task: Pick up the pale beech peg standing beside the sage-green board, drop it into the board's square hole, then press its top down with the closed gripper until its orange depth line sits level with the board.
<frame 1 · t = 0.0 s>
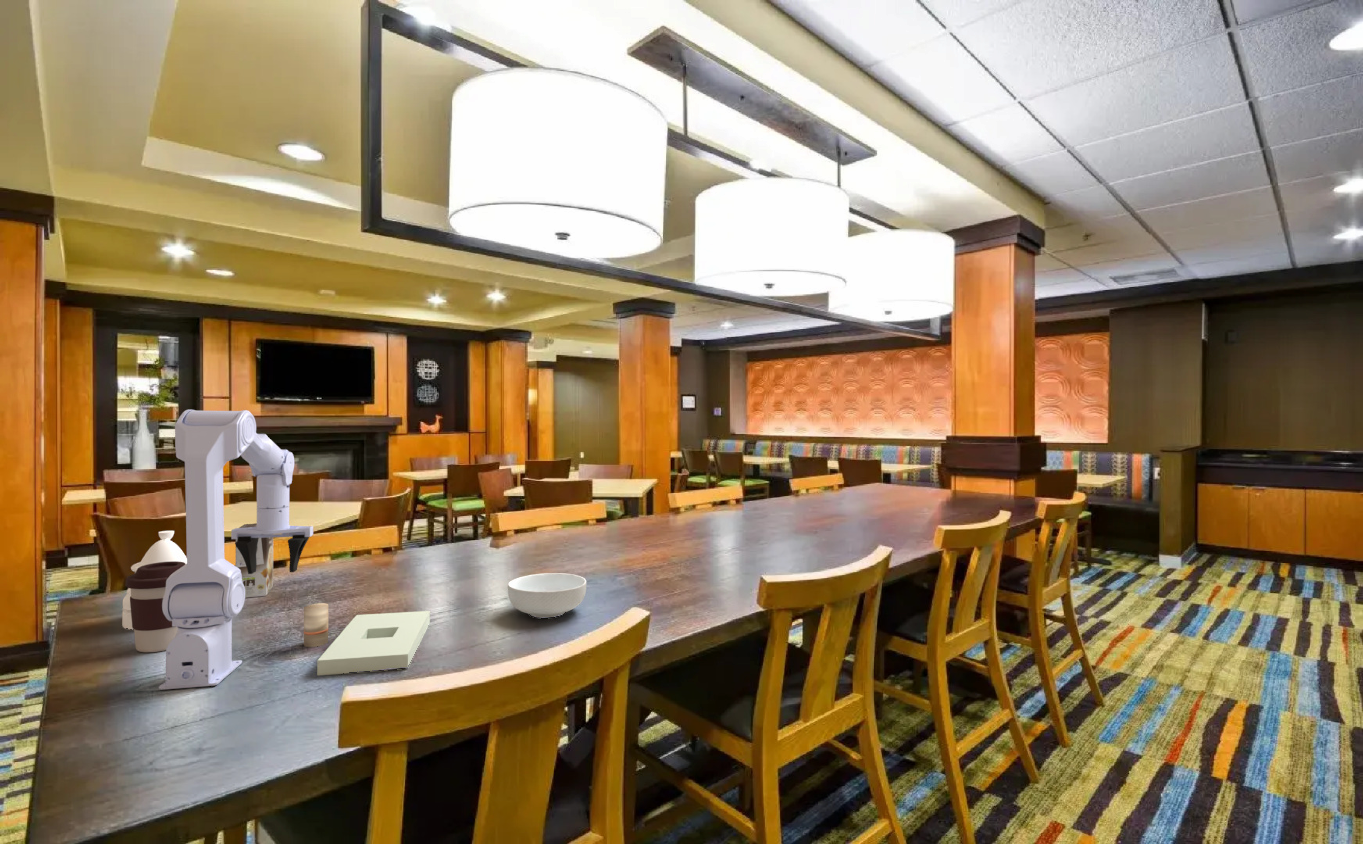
hand: (272, 572, 131), 10 cm above the table, tool pointing down, fingers open, 7 cm apart
peg: (316, 643, 119), on the table
honey pot: (163, 620, 131), on the table
cereal bowl: (547, 614, 138), on the table
coffee cup: (161, 647, 116), on the table
coffee box: (254, 593, 151), on the table
board: (379, 646, 118), on the table
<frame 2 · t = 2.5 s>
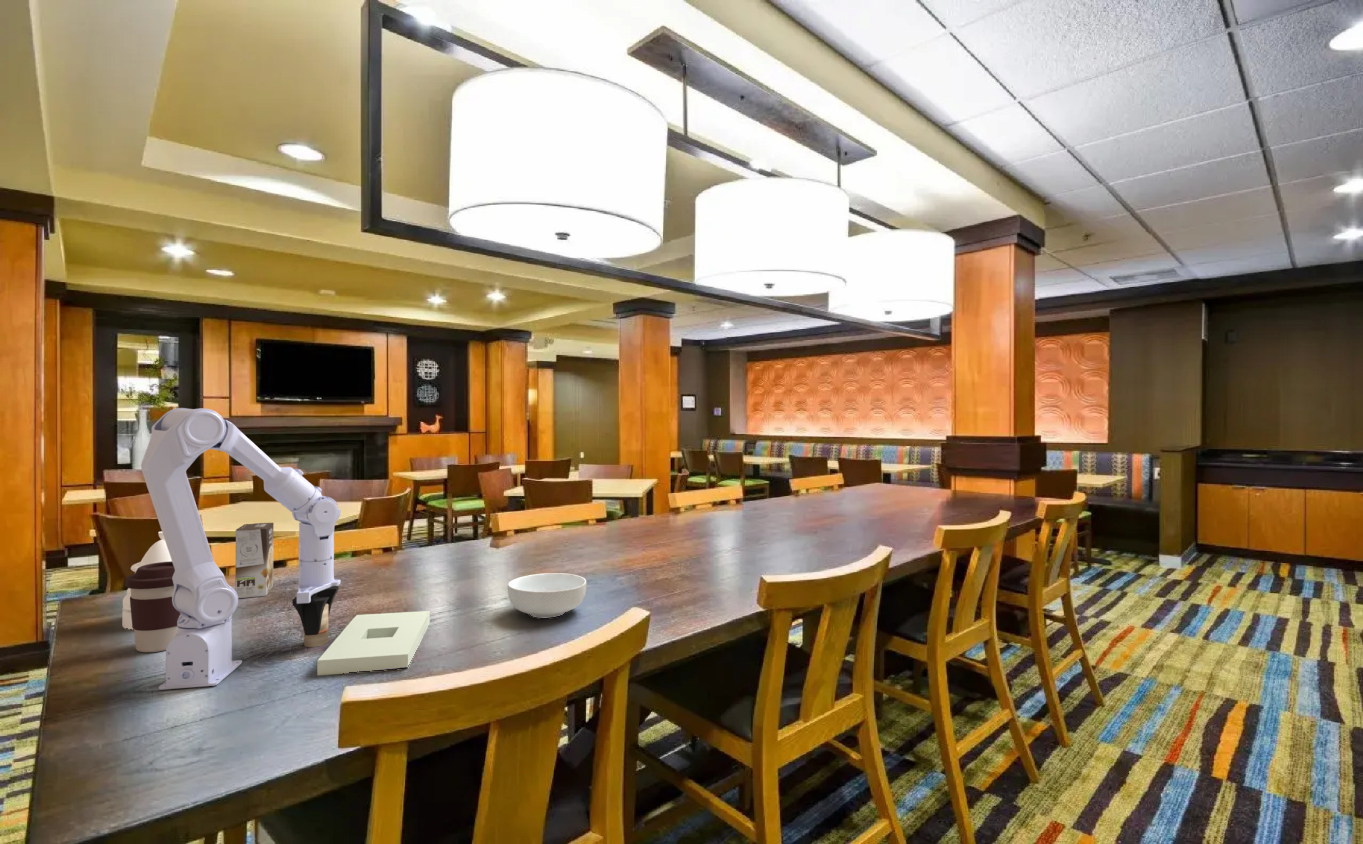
hand: (316, 630, 119), 2 cm above the table, tool pointing down, fingers closed on peg, 4 cm apart
peg: (316, 643, 119), on the table, touching gripper
everything else where it was.
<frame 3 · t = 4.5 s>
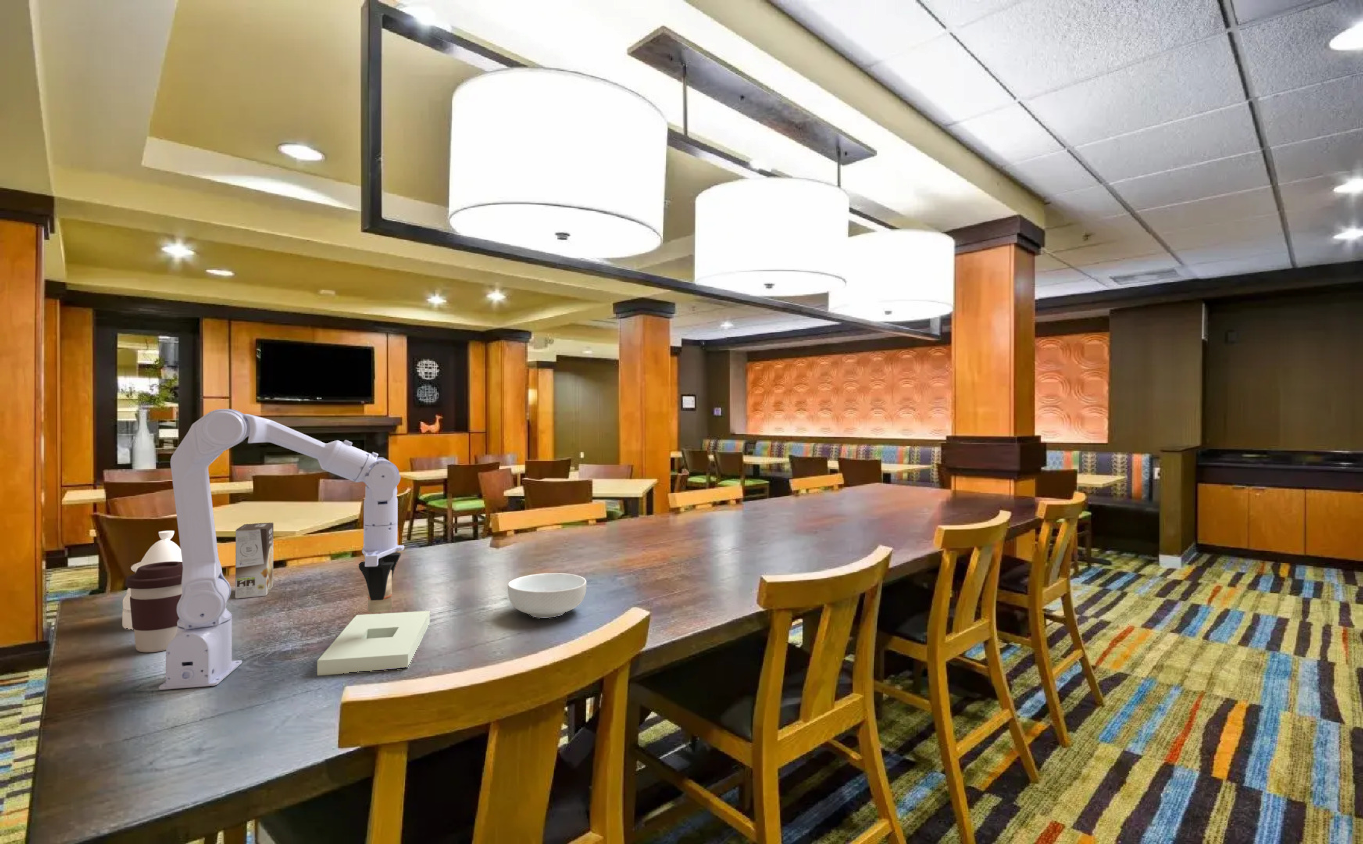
hand: (380, 596, 117), 9 cm above the table, tool pointing down, fingers closed on peg, 4 cm apart
peg: (379, 609, 117), point 7 cm above the table, touching gripper
everything else where it was.
when the fingers open (4 cm above the table, at t = 6.6 s): peg drops 1 cm, resting in board.
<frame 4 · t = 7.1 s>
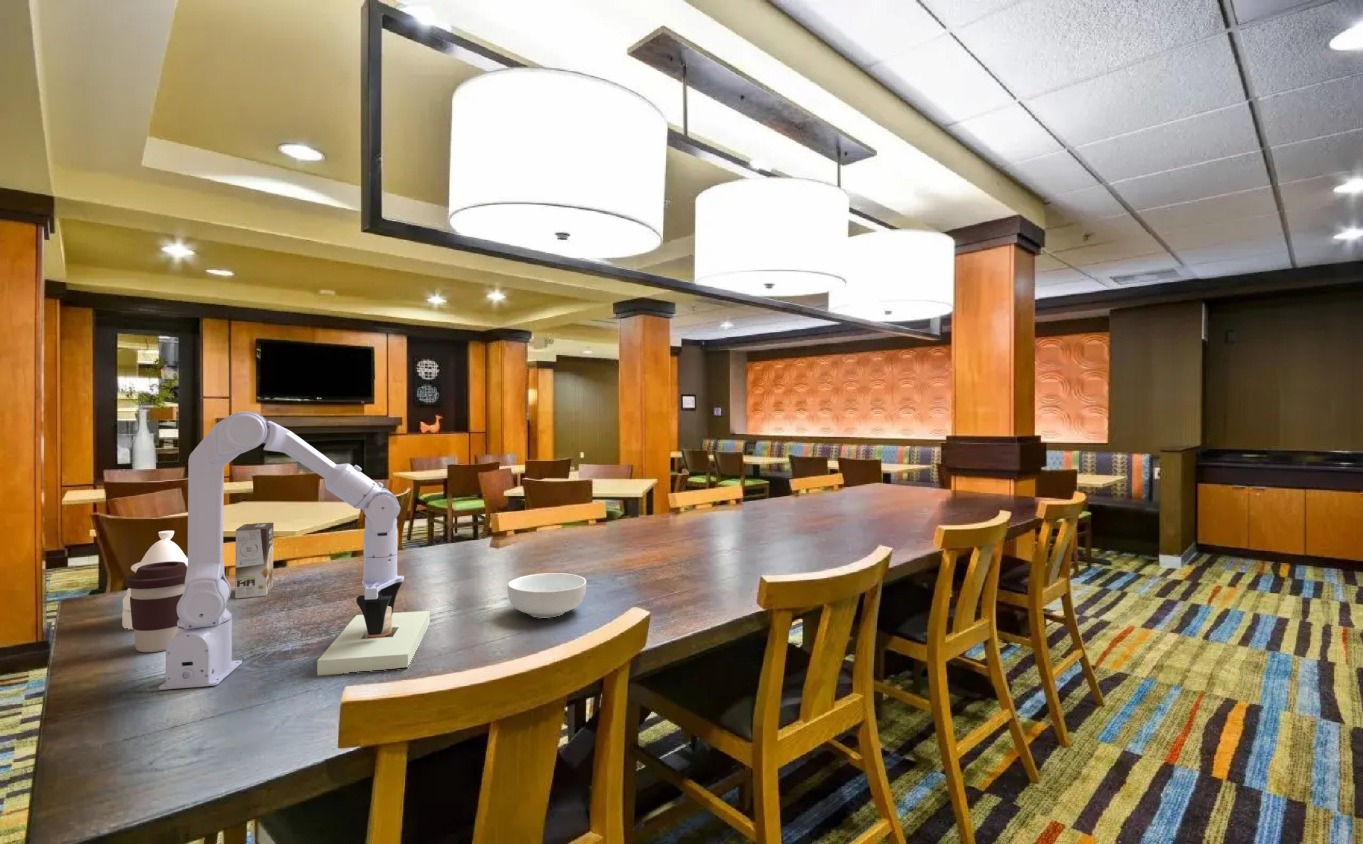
hand: (380, 627, 118), 4 cm above the table, tool pointing down, fingers open, 7 cm apart
peg: (379, 646, 118), resting in board
everything else where it was.
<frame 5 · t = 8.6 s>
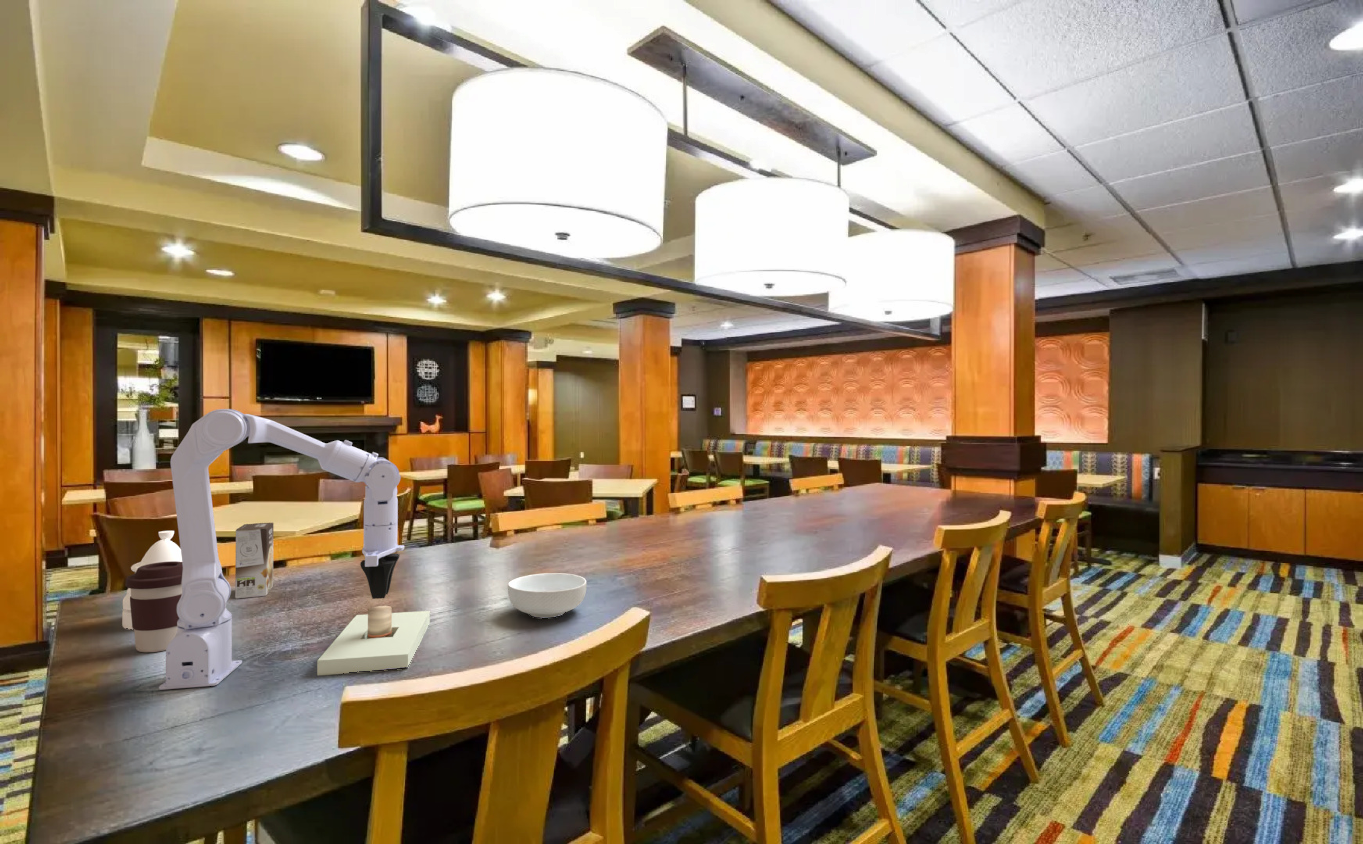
hand: (380, 596, 117), 9 cm above the table, tool pointing down, fingers closed
nothing on the table moved.
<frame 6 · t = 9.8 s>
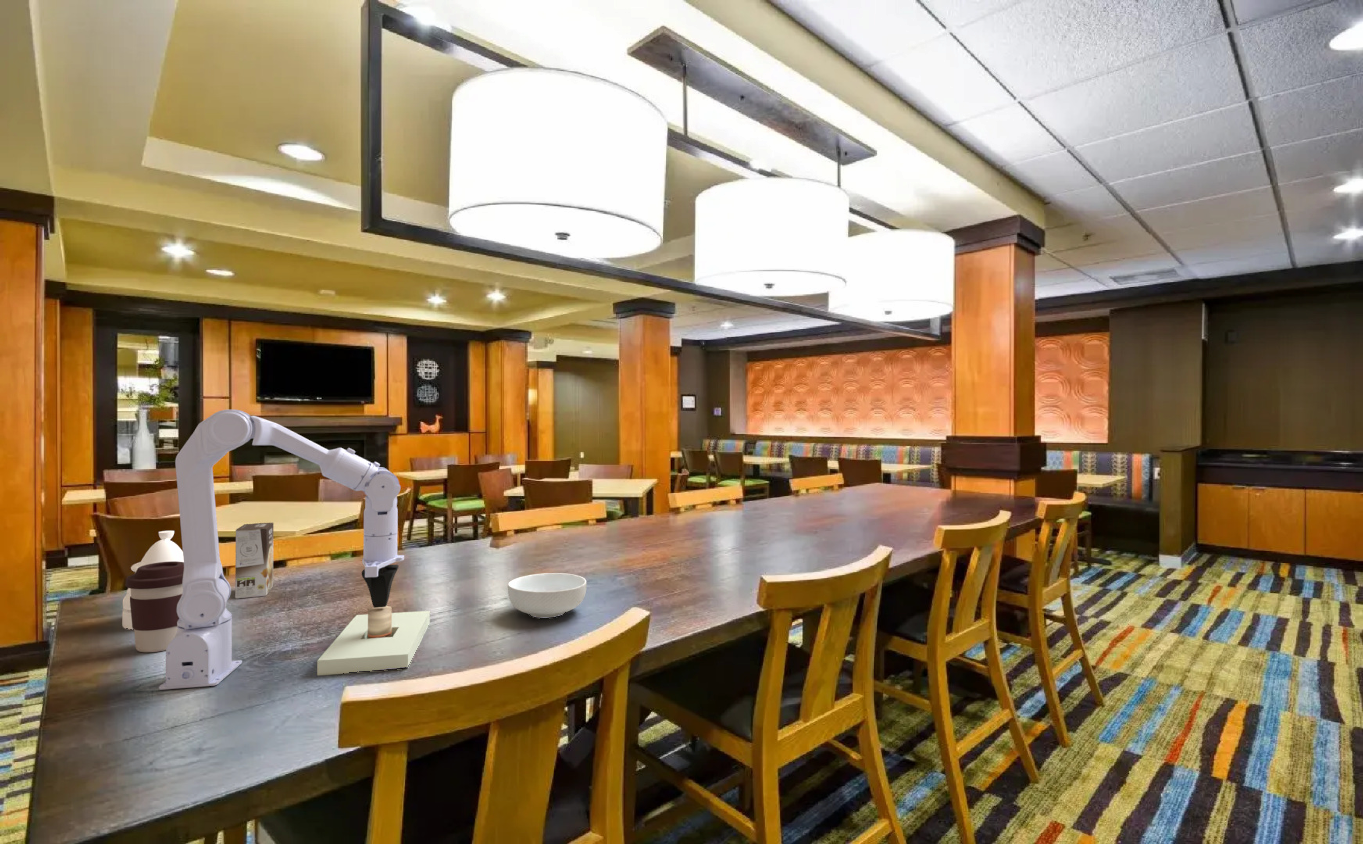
hand: (380, 606, 117), 8 cm above the table, tool pointing down, fingers closed
nothing on the table moved.
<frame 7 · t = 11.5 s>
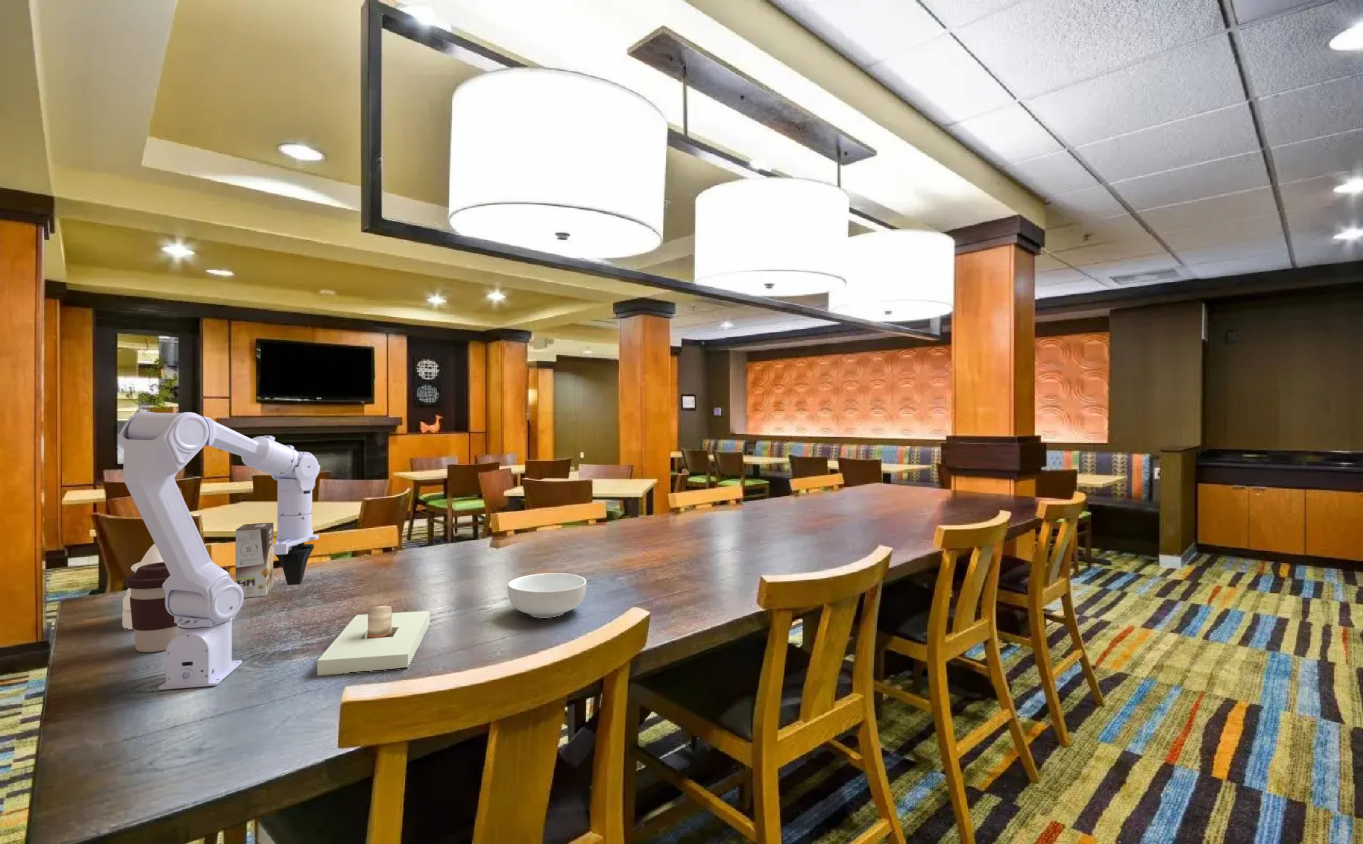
hand: (294, 584, 121), 10 cm above the table, tool pointing down, fingers closed
nothing on the table moved.
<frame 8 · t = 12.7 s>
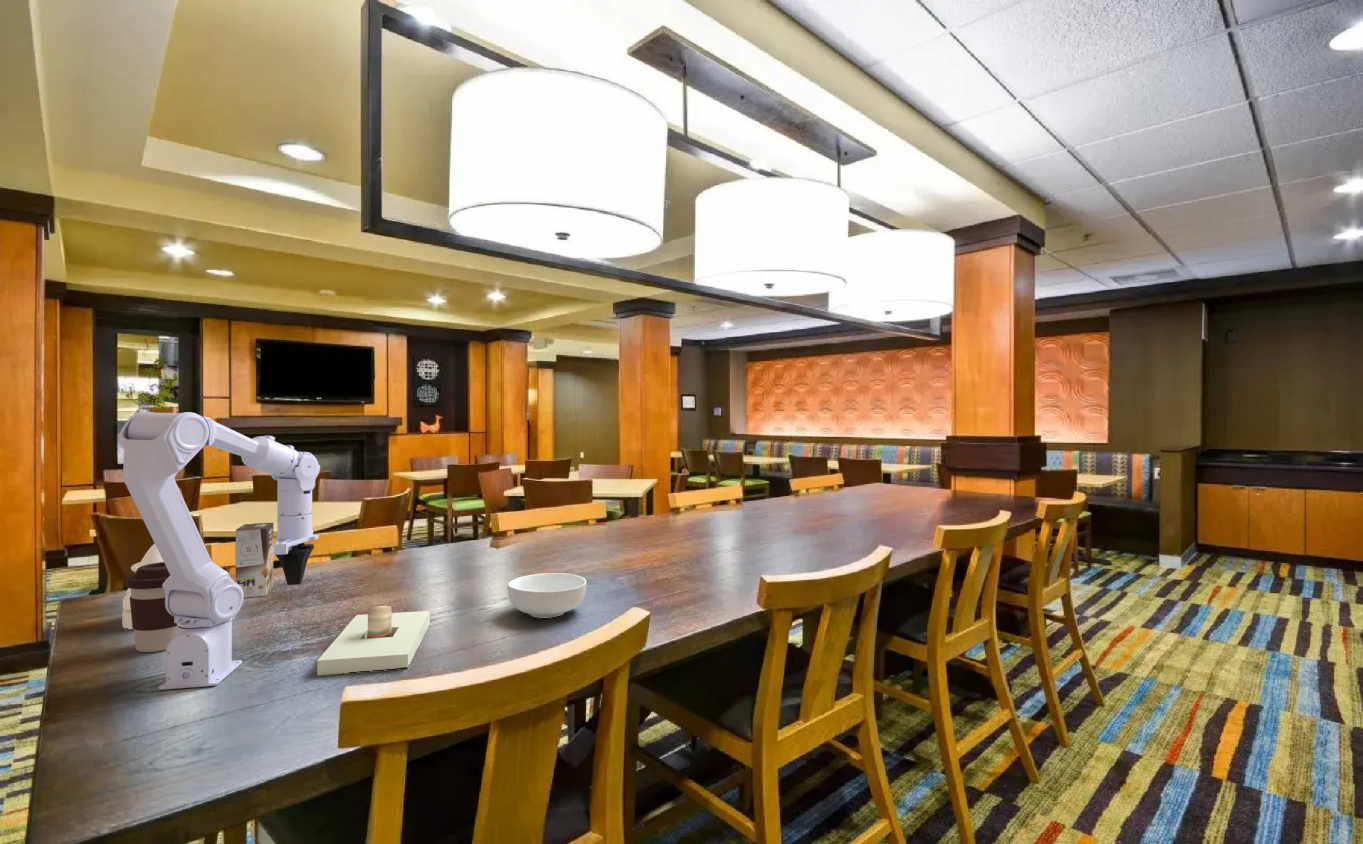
hand: (294, 584, 121), 10 cm above the table, tool pointing down, fingers closed
nothing on the table moved.
at the end: peg 0.0 cm off-centre on the board, point 0.0 cm above the board's base; peg tilted 0°; the gripper is holding nothing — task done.
